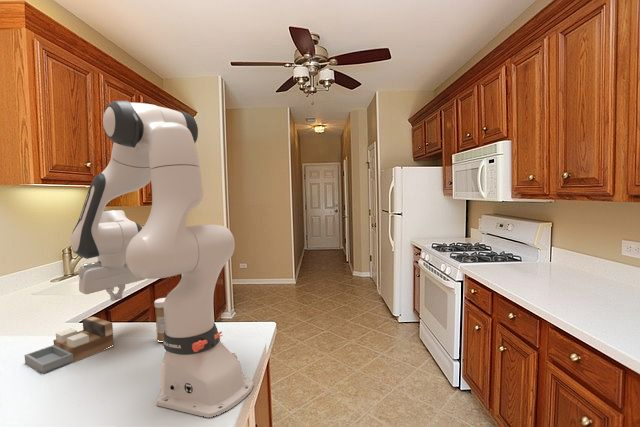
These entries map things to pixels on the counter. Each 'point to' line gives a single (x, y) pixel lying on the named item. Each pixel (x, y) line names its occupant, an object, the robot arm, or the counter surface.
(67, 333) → the tile
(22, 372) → the counter surface
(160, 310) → the sprinkles bottle
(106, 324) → the tan wooden bar
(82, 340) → the tile
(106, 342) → the board
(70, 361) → the tray
